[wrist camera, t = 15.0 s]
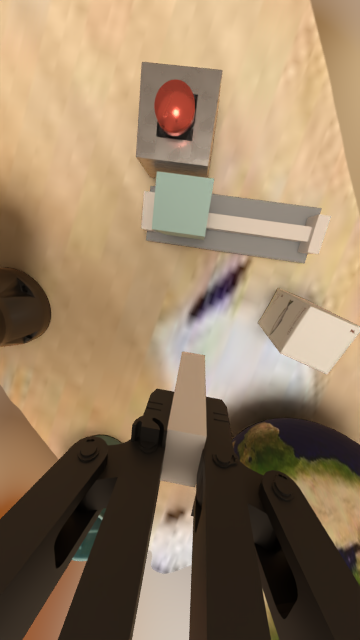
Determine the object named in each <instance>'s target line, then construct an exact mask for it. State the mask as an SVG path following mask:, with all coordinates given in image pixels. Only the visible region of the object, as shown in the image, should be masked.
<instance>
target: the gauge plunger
mask: <svg viewBox="0 0 360 640" xmlns="http://www.w3.org/2000/svg"><path fill="white" fill-rule="evenodd" d="M154 109H155V114H156V118H157V120H158V123H159V125H160V127H161V129H162V130H163V131H164V132H165V133H167V135H168V138H169V139H177V140H186V141H192V130H191V125H192V123H193V120H194V117H195V100H194V95H193V92H192V90H191V89H190V87H189V86H188V85H187V84H186V83H185V82H183V81H181V80H177V79H174V80H170V81H167V82H166V83H164V84H163V85H162V86H161V87H160V89H159V90H158V92H157V94H156V97H155V103H154Z"/></svg>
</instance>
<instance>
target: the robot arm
mask: <svg viewBox="0 0 360 640" xmlns="http://www.w3.org/2000/svg"><path fill="white" fill-rule="evenodd" d="M49 322H50V305H49V302H48V299H47V297H46V295H45V293H44V291H43V290H42V288H41V287H40V286H39V284H38V283H37V282H36V281H35V280H34V279H33V278H31V277H30V276H29V275H27V274H25V273H24V272H22V271H19V270H17V269H13V268H0V347H4V346H11V345H19V344H24V343H27V342H30V341H32V340H34V339H36V338H37V337H39V336H41V335H42V334H43V333H44V332H45V330H46V329H47V327H48V325H49ZM160 480H161V481H166V482H171V483H176V484H181V485H186V486H191V487H195V485H196V496H195V500H194V505H193V509H192V513H191V516H194V518H193V546H192V574H191V603H190V632H189V640H271V636H270V630H269V624H268V619H267V613H266V607H265V601H264V596H263V592H264V595H265V598H266V601H267V604H268V607H269V610H270V613H271V616H272V619H273V622H274V625H275V628H276V631H277V634H278V637H279V640H360V585H359V584H358V582H357V580H356V579H355V577H354V575H353V574H352V572H351V571H350V569H349V567H348V566H347V564H346V562H345V561H344V559H343V558H342V556H341V554H340V553H339V551H338V549H337V548H336V546H335V545H334V543H333V541H332V540H331V538H330V536H329V535H328V533H327V532H326V530H325V528H324V527H323V525H322V523H321V522H320V520H319V519H318V517H317V515H316V514H315V512H314V510H313V509H312V507H311V506H310V504H309V502H308V501H307V499H306V498H305V496H304V494H303V493H302V491H301V489H300V488H299V487H298V485H297V484H296V483H295V482H294V480H292V479H291V478H290V477H289V476H288V475H286V474H284V473H282V472H280V471H275V470H270V471H267V472H266V473H265V474H264V475H261V474H259V473H257V472H255V471H253V470H251V469H250V468H248V467H246V466H245V465H244V464H243V463H242V462H241V461H240V460H239V458H238V456H237V454H236V453H235V452H234V449H233V444H232V437H231V431H230V424H229V418H228V411H227V407H226V405H225V404H224V402H223V401H222V400H220V399H215V398H209V397H206V385H205V355H200V354H194V353H188V352H182V356H181V361H180V366H179V371H178V376H177V382H176V387H175V392H172V391H167V390H161V389H156V390H155V391H154V392H153V393H152V394H151V395H150V398H149V401H148V404H147V406H146V409H145V412H144V415H143V416H141V417H139V418H138V419H136V420H135V422H134V423H133V425H132V435H131V440H129V441H127V442H125V443H122V444H116V445H107V443H106V441H105V440H103V439H102V438H100V437H95V436H93V437H86V438H84V439H81V440H79V441H78V442H77V443H75V444H74V445H73V446H72V447H71V448H70V449H69V450H68V451H67V452H66V453H65V454H64V455H63V456H62V457H61V458H60V459H59V460H58V461H57V462H56V463H55V464H54V465H53V466H52V467H51V468H50V469H49V470H48V471H47V472H46V473H45V474H44V475H43V476H42V478H40V479H39V481H38V482H36V483H35V485H33V487H32V488H31V489H30V490H29V491H28V492H27V493H26V494H25V495H24V496H23V497H22V498H21V499H20V500H19V501H18V502H17V503H16V504H15V505H14V506H13V507H12V508H11V509H10V510H9V511H8V512H7V513H6V514H5V515H4V516H3V517H2V518H1V519H0V640H22V639H23V638H24V636H25V635H26V633H27V631H28V629H29V628H30V626H31V625H32V623H33V622H34V620H35V618H36V617H37V615H38V613H39V612H40V610H41V609H42V607H43V605H44V604H45V602H46V600H47V599H48V597H49V596H50V594H51V592H52V591H53V589H54V587H55V586H56V584H57V583H58V581H59V579H60V578H61V576H62V575H63V573H64V571H65V570H66V568H67V566H68V565H69V563H70V561H71V560H72V558H73V557H74V555H75V554H76V552H77V550H78V549H79V547H80V545H81V544H82V542H83V541H84V539H85V537H86V536H87V534H88V532H89V531H90V529H91V528H92V526H93V524H94V523H95V521H96V520H97V518H98V516H99V515H100V513H101V511H102V510H103V509H104V508H106V511H105V513H104V516H103V519H102V522H101V524H100V527H99V530H98V532H97V535H96V538H95V540H94V543H93V546H92V549H91V551H90V554H89V557H88V559H87V562H86V565H85V568H84V570H83V573H82V576H81V579H80V581H79V584H78V587H77V589H76V592H75V595H74V597H73V600H72V603H71V606H70V608H69V611H68V614H67V616H66V619H65V622H64V625H63V628H62V630H61V633H60V636H59V638H58V640H132V636H133V630H134V624H135V619H136V614H137V608H138V602H139V597H140V591H141V586H142V580H143V574H144V569H145V563H146V558H147V552H148V547H149V541H150V535H151V530H152V524H153V519H154V513H155V508H156V502H157V496H158V490H159V484H160ZM196 481H197V482H196ZM262 589H263V590H262Z"/></svg>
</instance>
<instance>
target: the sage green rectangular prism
mask: <svg viewBox="0 0 360 640" xmlns="http://www.w3.org/2000/svg"><path fill="white" fill-rule="evenodd" d="M213 183H214V179H213V178H205V177H197V176H189V175H182V174H174V173H166V172H158V171H157V175H156V187H155V198H154V209H153V220H152V229H153V230H155V231H158V232H160V233H163V234H165V235H172V236H179V237H186V238H193V239H200V240H204V238H205V232H206V226H207V220H208V214H209V208H210V202H211V196H212V189H213Z"/></svg>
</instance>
